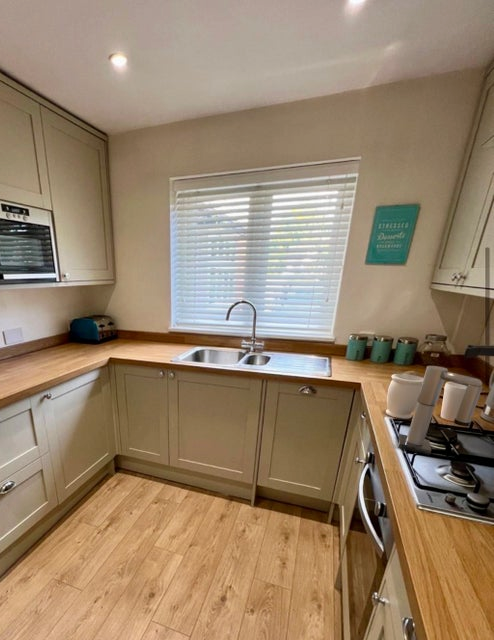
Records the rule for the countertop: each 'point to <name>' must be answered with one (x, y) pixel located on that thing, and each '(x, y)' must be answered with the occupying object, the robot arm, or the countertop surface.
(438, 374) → the spout
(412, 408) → the jar
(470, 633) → the countertop surface
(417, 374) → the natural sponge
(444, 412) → the foam cup
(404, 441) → the tap base
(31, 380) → the countertop surface
